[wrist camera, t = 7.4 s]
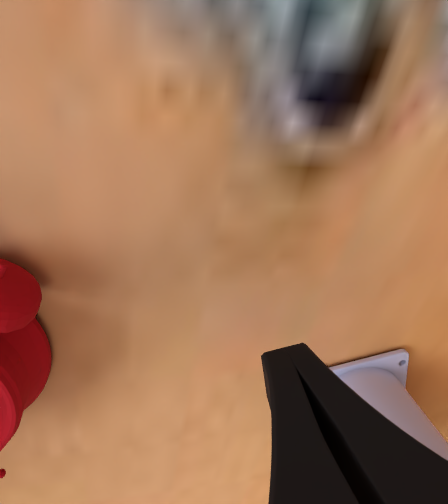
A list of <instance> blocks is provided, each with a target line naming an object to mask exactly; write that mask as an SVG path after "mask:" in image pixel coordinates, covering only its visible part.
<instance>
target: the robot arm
mask: <svg viewBox="0 0 448 504" xmlns="http://www.w3.org/2000/svg"><path fill="white" fill-rule="evenodd" d="M261 359H262V366H263V372H264V379H265V386H266V393H267V398H268V402H269V405H270V409H271V417H272V458H271V478H270V492H269V504H448V443H447V442H446V440H445V439H444V438H443V436H442V435H441V434H440V433H439V431H438V430H437V429H436V427H435V426H434V425H433V424H432V422H431V421H430V420H429V418H428V417H427V416H426V415H425V413H424V412H423V411H422V410H421V408H420V407H419V406H418V404H417V403H416V402H415V401H414V399H413V398H412V397H411V395H410V394H409V393H408V392H407V390H406V389H405V386H406V378H407V369H408V361H409V353H408V352H407V351H406V350H405V349H398V350H395V351H391V352H387V353H383V354H379V355H375V356H371V357H367V358H364V359H360V360H356V361H352V362H348V363H344V364H340V365H337V366H333V367H329V368H328V367H327V366H326V365H325V364H324V363H323V362H322V361H321V360H320V359H319V358H318V357H317V356H316V355H315V354H314V352H313V351H312V350H311V349H310V348H309V347H308V346H307V345H306V344H304V343H300V344H296V345H292V346H288V347H284V348H280V349H276V350H272V351H268V352H264V353H263V355H262V356H261Z"/></svg>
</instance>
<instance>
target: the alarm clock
mask: <svg viewBox="0 0 448 504" xmlns="http://www.w3.org/2000/svg"><path fill="white" fill-rule="evenodd" d="M41 300H42V293H41V289H40V286H39V283H38V282H37V281H36V279H35V278H34V277H33V275H31V274H30V273H29V272H27V271H26V270H25V269H23V268H22V267H20V266H18V265H16V264H14V263H12V262H9V261H7V260H4V259H0V451H1V450H2V449H3V448H4V447H5V445H6V444H7V443H8V442H9V441H10V439H11V438H12V437H13V435H14V434H15V432H16V430H17V429H18V427H19V424H20V421H21V417H22V414H23V411H24V409H26V408H27V407H28V406H29V405H30V404H32V403H33V402H34V401H35V399H36V398H37V397H38V396H39V395H40V393H41V392H42V390H43V388H44V386H45V384H46V382H47V379H48V376H49V372H50V368H51V349H50V345H49V342H48V339H47V336H46V334H45V332H44V331H43V329H42V327H41V326H40V324H39V323H38V321H37V320H36V318H35V316H36V314H37V312H38V310H39V307H40V303H41ZM5 474H6V471H5V470H4V469H0V478H3V477H4V476H5Z"/></svg>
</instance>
